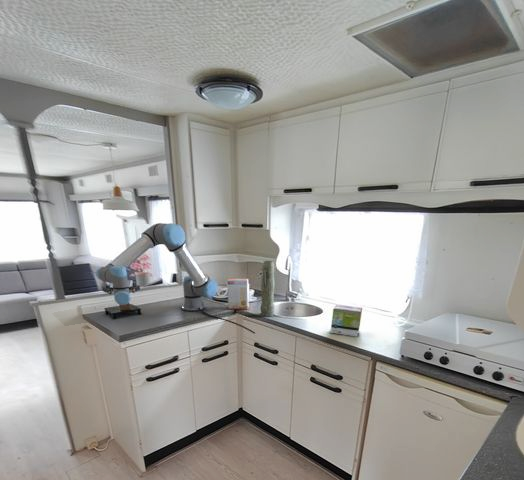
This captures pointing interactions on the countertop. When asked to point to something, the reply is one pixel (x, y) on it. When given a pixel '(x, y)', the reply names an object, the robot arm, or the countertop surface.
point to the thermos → (267, 289)
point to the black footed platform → (117, 310)
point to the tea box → (346, 320)
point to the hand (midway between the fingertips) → (121, 286)
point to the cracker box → (238, 294)
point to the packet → (125, 307)
